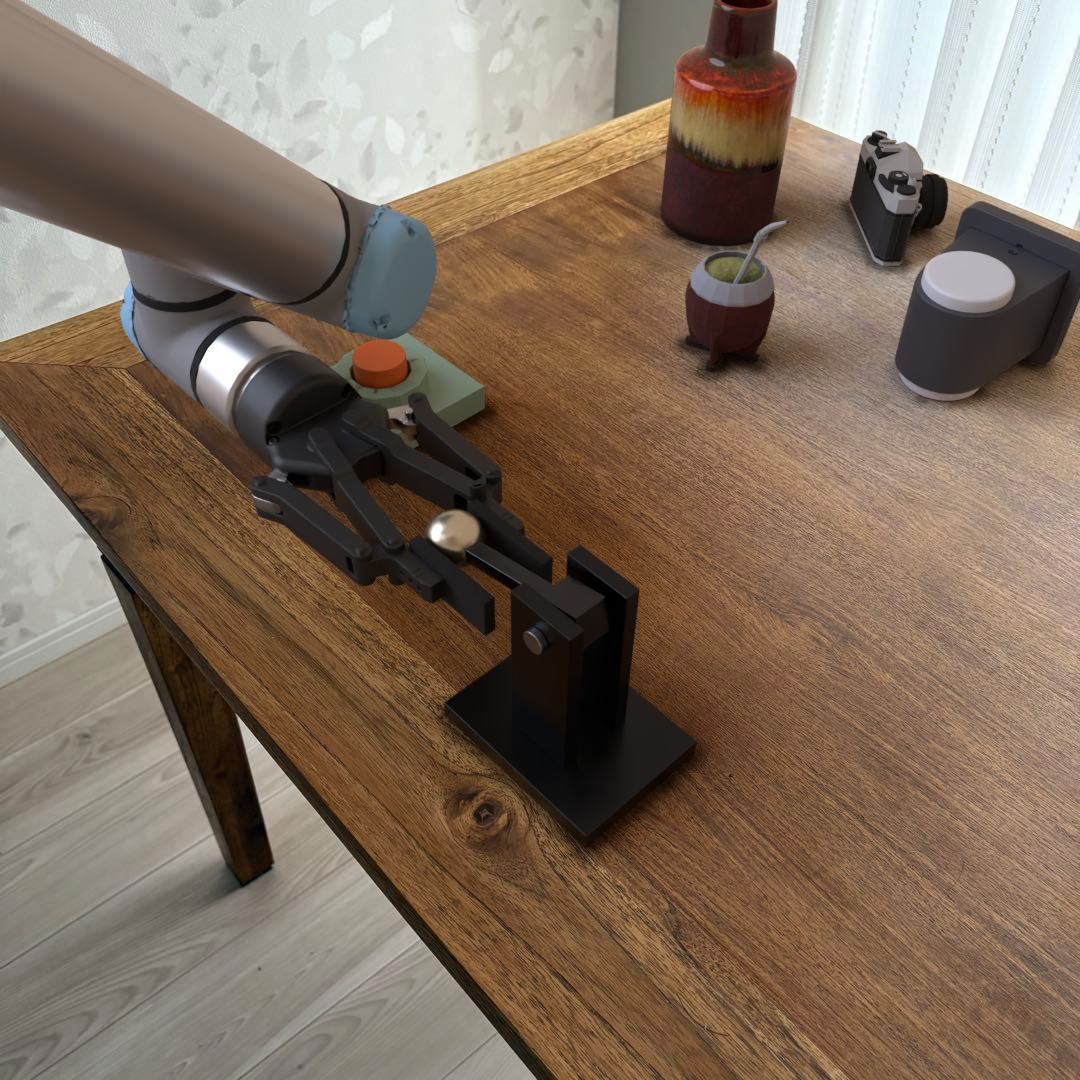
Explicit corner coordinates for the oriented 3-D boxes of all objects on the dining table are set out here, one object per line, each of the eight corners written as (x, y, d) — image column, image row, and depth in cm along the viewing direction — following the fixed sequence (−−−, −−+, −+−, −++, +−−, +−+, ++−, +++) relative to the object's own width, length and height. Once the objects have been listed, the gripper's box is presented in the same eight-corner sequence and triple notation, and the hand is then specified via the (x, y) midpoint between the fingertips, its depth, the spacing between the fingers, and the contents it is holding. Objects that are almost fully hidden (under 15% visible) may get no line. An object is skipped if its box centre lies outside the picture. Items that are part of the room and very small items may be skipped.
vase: (760, 188, 112) (795, -26, 98) (781, 245, 105) (823, 21, 90) (653, 190, 112) (673, -25, 97) (668, 247, 104) (691, 23, 90)
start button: (375, 397, 82) (373, 378, 81) (343, 372, 84) (341, 354, 83) (418, 375, 84) (416, 356, 83) (386, 351, 86) (384, 333, 85)
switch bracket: (444, 715, 67) (432, 570, 57) (553, 636, 71) (557, 490, 62) (585, 849, 60) (596, 710, 51) (694, 754, 65) (723, 610, 56)
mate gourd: (695, 319, 96) (717, 154, 85) (784, 342, 94) (817, 176, 83) (665, 365, 91) (684, 197, 80) (757, 391, 89) (789, 222, 78)
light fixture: (854, 371, 92) (880, 258, 84) (946, 304, 98) (978, 192, 90) (969, 435, 86) (1009, 320, 78) (1059, 359, 92) (1105, 245, 84)
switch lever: (417, 567, 66) (405, 518, 63) (464, 538, 67) (454, 489, 65) (571, 668, 57) (564, 616, 55) (620, 632, 59) (614, 580, 57)
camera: (957, 267, 102) (984, 172, 96) (874, 269, 102) (896, 174, 96) (911, 207, 112) (934, 117, 106) (835, 207, 111) (854, 118, 105)
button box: (361, 478, 81) (355, 436, 78) (284, 414, 86) (276, 372, 83) (485, 408, 87) (484, 367, 84) (406, 352, 92) (402, 311, 89)
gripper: (386, 393, 80) (619, 568, 68) (182, 501, 72) (406, 720, 60) (376, 304, 75) (627, 478, 63) (154, 411, 67) (394, 632, 55)
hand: (518, 596), depth 62 cm, fingers closed on switch lever, 4 cm apart
